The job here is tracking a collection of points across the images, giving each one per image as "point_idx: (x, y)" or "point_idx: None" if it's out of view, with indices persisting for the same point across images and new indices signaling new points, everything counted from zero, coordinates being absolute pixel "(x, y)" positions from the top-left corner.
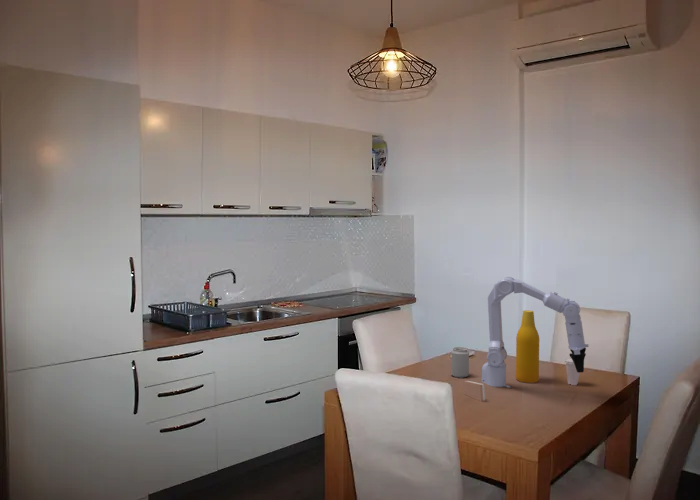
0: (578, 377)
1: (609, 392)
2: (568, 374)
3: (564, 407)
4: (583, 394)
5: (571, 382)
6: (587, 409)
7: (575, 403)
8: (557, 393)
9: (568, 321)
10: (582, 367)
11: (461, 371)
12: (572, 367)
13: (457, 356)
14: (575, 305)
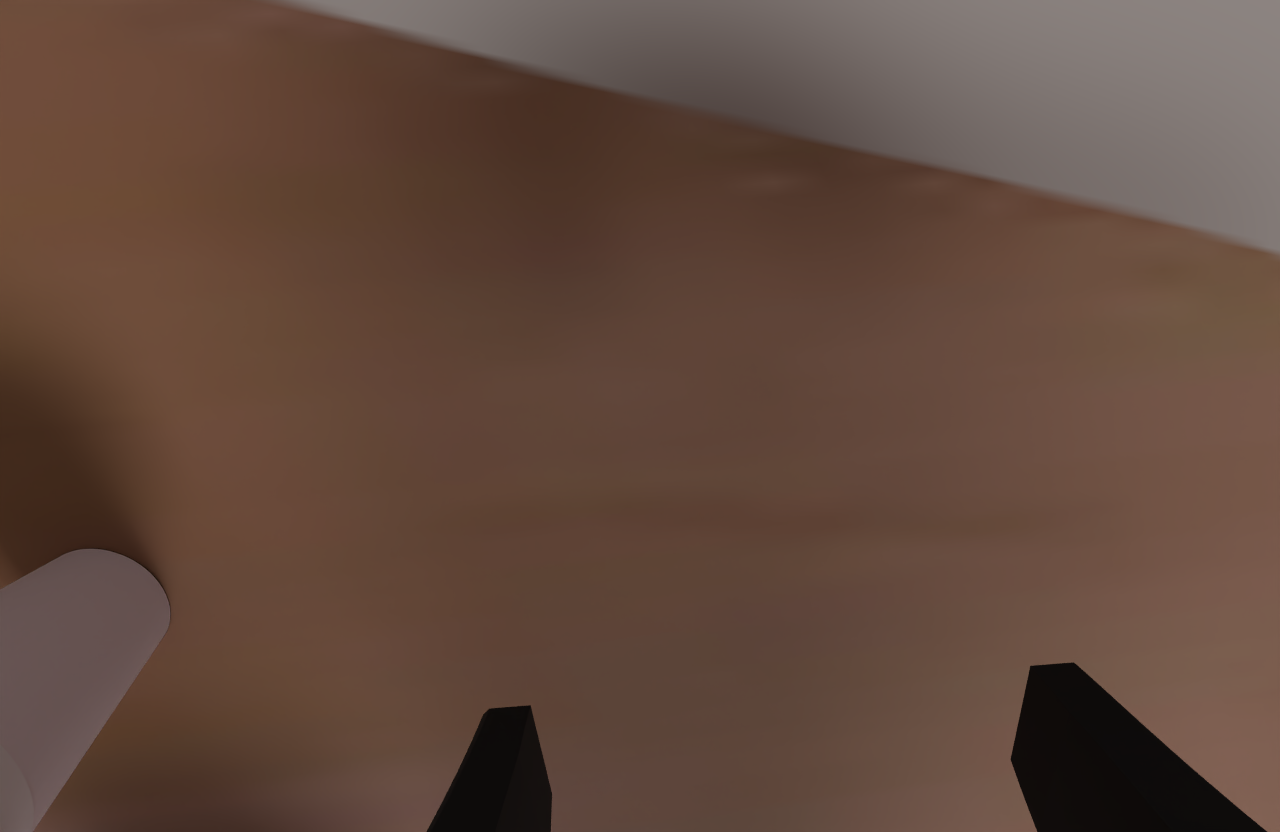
0: (18, 598)
1: (205, 81)
2: (87, 749)
3: (1219, 561)
4: (542, 427)
5: (152, 632)
6: (1237, 308)
7: (1010, 471)
8: (661, 697)
9: None
10: (1174, 780)
11: None
12: (7, 808)
13: None
14: None
